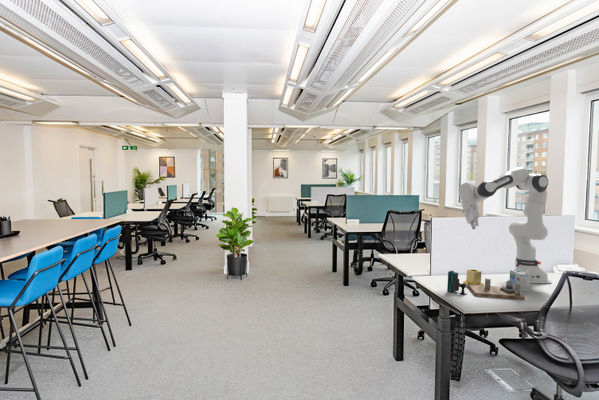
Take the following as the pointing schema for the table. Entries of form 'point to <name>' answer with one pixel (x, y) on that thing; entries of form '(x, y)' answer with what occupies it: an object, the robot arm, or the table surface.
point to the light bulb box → (520, 279)
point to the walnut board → (495, 291)
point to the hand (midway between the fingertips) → (475, 227)
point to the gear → (508, 287)
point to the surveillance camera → (454, 283)
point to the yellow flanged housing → (473, 277)
